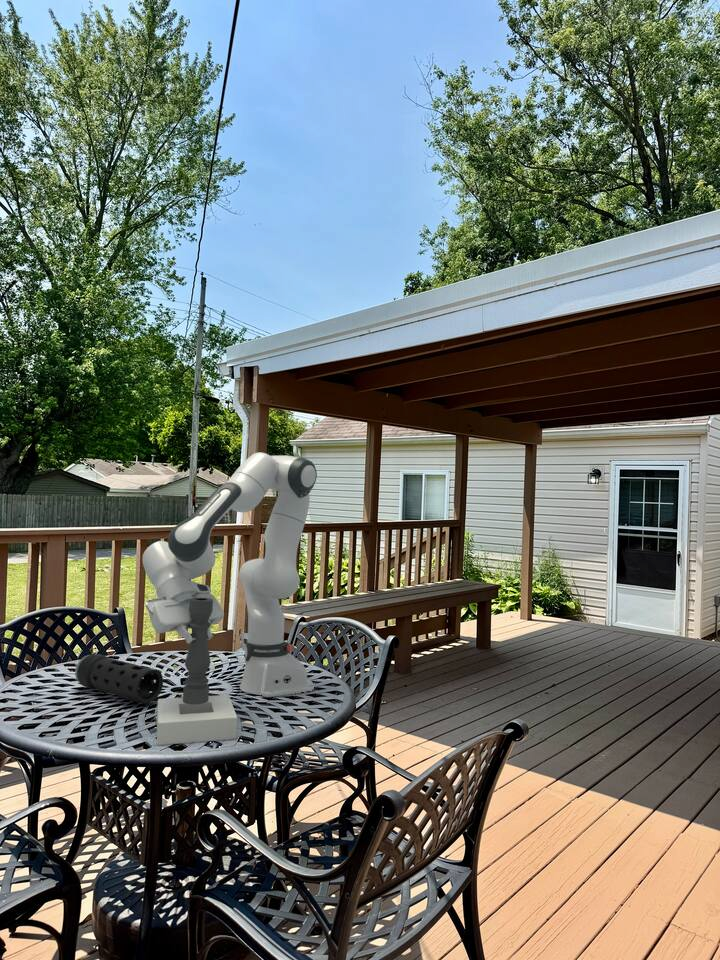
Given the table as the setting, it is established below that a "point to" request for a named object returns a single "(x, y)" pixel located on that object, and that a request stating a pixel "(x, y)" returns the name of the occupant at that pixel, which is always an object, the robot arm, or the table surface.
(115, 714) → the table surface
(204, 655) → the candle holder
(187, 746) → the table surface
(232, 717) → the socket block
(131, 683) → the muzzle brake
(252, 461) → the robot arm
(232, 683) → the table surface
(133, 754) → the table surface
